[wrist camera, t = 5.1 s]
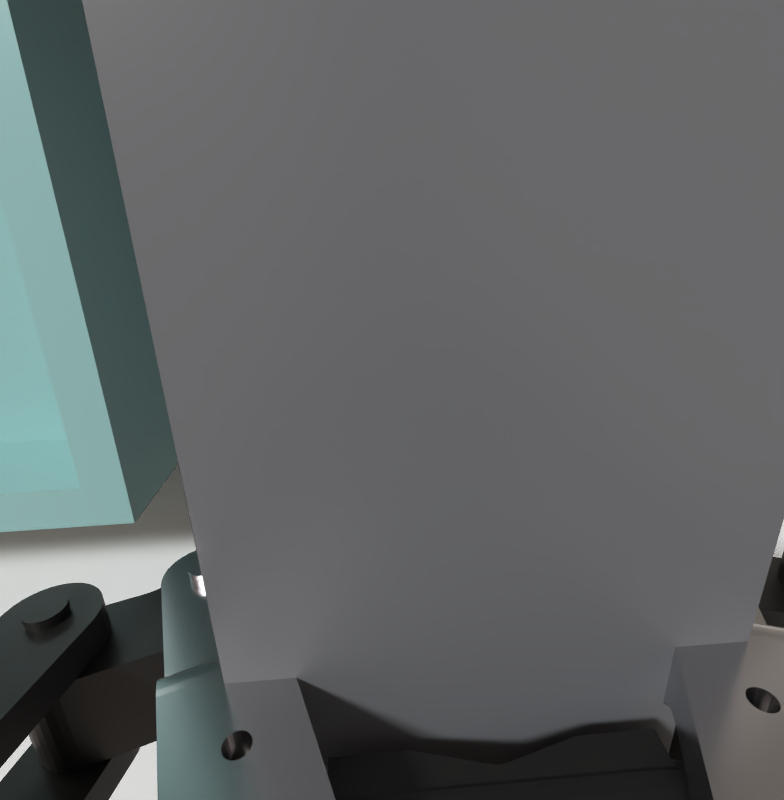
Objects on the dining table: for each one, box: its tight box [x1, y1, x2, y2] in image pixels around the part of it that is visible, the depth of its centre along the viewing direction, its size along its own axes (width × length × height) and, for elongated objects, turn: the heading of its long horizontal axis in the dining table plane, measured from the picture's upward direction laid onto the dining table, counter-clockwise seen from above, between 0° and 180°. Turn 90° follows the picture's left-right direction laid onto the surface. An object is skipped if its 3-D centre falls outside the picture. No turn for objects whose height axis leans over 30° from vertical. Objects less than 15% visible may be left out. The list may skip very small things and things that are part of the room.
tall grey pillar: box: [82, 0, 784, 775], centre depth 8 cm, size 13×5×8 cm, turn 2°
